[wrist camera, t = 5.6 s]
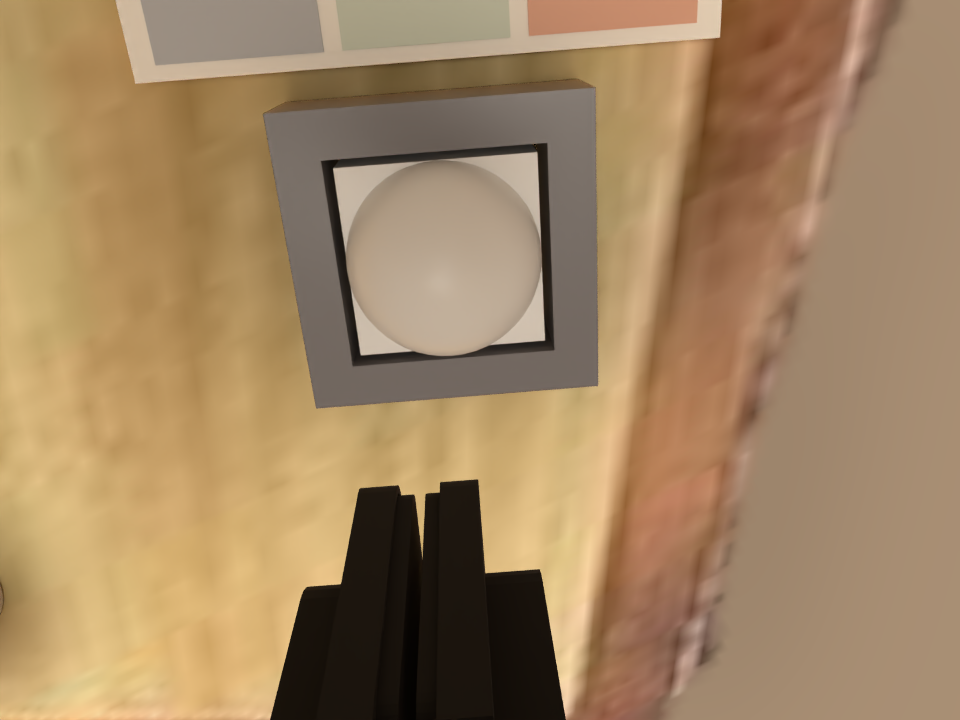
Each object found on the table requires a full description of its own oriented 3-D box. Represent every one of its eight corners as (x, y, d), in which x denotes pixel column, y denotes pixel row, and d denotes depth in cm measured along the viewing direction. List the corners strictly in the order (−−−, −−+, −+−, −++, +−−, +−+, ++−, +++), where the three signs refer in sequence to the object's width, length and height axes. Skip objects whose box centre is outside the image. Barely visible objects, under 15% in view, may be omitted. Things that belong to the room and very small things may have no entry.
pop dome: (345, 151, 27) (316, 189, 21) (527, 137, 27) (549, 171, 21) (369, 321, 29) (349, 397, 24) (535, 308, 29) (556, 380, 24)
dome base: (285, 101, 26) (262, 113, 23) (577, 78, 26) (595, 87, 23) (330, 367, 30) (316, 408, 27) (582, 346, 30) (598, 385, 27)
